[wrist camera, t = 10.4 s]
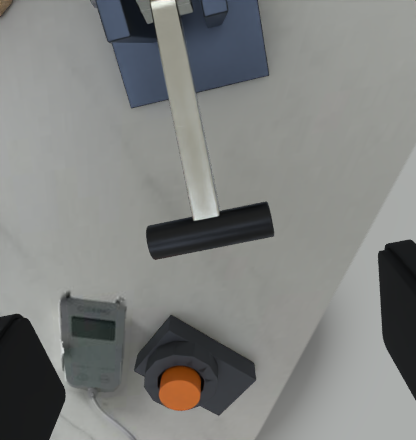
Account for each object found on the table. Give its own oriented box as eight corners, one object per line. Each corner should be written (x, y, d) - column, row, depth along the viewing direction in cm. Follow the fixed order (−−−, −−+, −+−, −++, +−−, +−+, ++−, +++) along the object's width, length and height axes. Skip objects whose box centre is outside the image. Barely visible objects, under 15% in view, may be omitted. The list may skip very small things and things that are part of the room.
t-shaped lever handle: (272, 235, 17) (276, 237, 15) (161, 257, 18) (147, 262, 15) (212, -57, 17) (206, -101, 15) (105, -27, 18) (82, -66, 15)
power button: (208, 377, 35) (208, 392, 34) (186, 400, 37) (184, 416, 35) (175, 358, 35) (173, 374, 33) (153, 383, 36) (150, 399, 34)
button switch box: (255, 361, 39) (260, 393, 36) (217, 399, 42) (217, 433, 38) (172, 313, 37) (168, 342, 33) (136, 355, 39) (128, 388, 36)
